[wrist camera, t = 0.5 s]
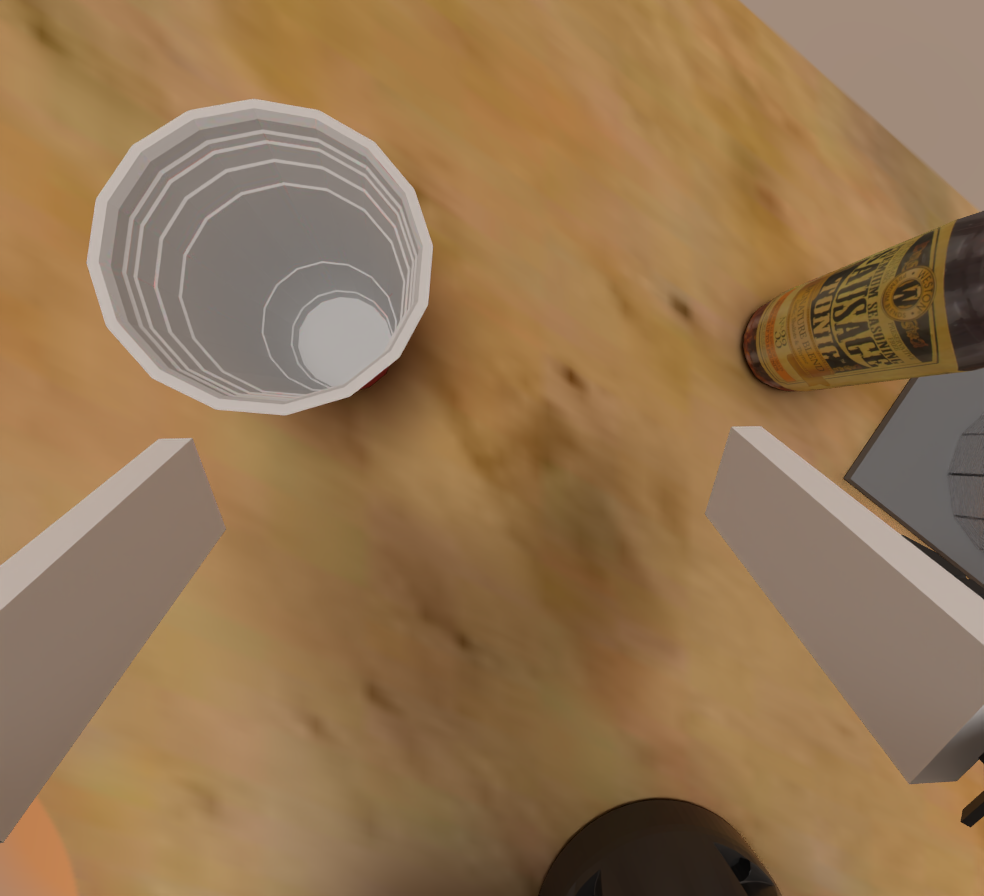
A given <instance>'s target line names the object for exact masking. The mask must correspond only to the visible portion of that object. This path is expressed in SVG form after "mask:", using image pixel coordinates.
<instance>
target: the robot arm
mask: <svg viewBox="0 0 984 896" xmlns="http://www.w3.org/2000/svg"><path fill="white" fill-rule="evenodd" d="M705 515H706V516H707V518H708V519H709V520H710V522H711V523H712V524H713V526H714V527H715V528H716V529H717V531H718V532H719V533H720V535H721V536H722V537H723V539H724V540H725V541H726V543H727V544H728V545H729V547H730V548H731V549H732V551H733V552H734V553H735V555H736V556H737V557H738V559H739V560H740V561H741V562H742V564H743V565H744V566H745V568H746V569H747V570H748V572H749V573H750V574H751V576H752V577H753V578H754V580H755V581H756V582H757V584H758V585H759V586H760V588H761V589H762V590H763V592H764V593H765V594H766V596H767V597H768V598H769V599H770V601H771V602H772V603H773V605H774V606H775V607H776V609H777V610H778V611H779V613H780V614H781V615H782V617H783V618H784V619H785V621H786V622H787V623H788V625H789V626H790V627H791V629H792V630H793V631H794V633H795V634H796V635H797V636H798V638H799V639H800V640H801V642H802V643H803V644H804V646H805V647H806V648H807V650H808V651H809V652H810V654H811V655H812V656H813V658H814V659H815V660H816V662H817V663H818V664H819V666H820V667H821V668H822V669H823V671H824V672H825V673H826V675H827V676H828V677H829V679H830V680H831V681H832V683H833V684H834V685H835V687H836V688H837V689H838V691H839V692H840V693H841V695H842V696H843V697H844V699H845V700H846V701H847V703H848V704H849V705H850V706H851V708H852V709H853V710H854V712H855V713H856V714H857V716H858V717H859V718H860V720H861V721H862V722H863V724H864V725H865V726H866V728H867V729H868V730H869V732H870V733H871V734H872V736H873V737H874V738H875V739H876V741H877V742H878V743H879V745H880V746H881V747H882V749H883V750H884V751H885V753H886V754H887V755H888V757H889V758H890V759H891V761H892V762H893V763H894V765H895V766H896V767H897V769H898V770H899V771H900V773H901V774H902V775H903V776H904V778H905V779H906V780H907V782H908V783H909V784H919V783H935V782H950V781H957V780H958V779H959V778H960V777H961V776H962V775H963V774H965V773H966V772H967V771H968V770H969V769H970V768H971V767H972V766H973V765H974V764H975V763H976V762H977V761H978V760H979V759H980V760H981V761H982V762H983V764H984V588H983V587H981V586H980V585H979V584H977V583H976V582H975V581H973V580H972V579H967V578H966V575H965V574H964V573H963V572H961V571H960V570H959V569H958V568H956V567H955V566H954V565H952V564H951V563H950V562H948V561H947V560H946V559H944V558H943V557H942V556H940V555H939V554H938V553H936V552H934V551H932V550H930V549H928V548H927V547H925V546H923V545H921V544H919V543H917V542H915V541H913V540H911V539H909V538H907V537H906V536H904V535H900V534H899V533H898V532H896V531H895V530H894V529H892V528H891V527H890V526H889V525H887V524H886V523H885V522H883V521H882V520H881V519H880V518H878V517H877V516H876V515H874V514H873V513H872V512H871V511H869V510H868V509H867V508H865V507H864V506H863V505H862V504H860V503H859V502H858V501H856V500H855V499H854V498H853V497H851V496H850V495H849V494H847V493H846V492H845V491H844V490H842V489H841V488H840V487H838V486H837V485H836V484H835V483H833V482H832V481H831V480H829V479H828V478H827V477H826V476H824V475H823V474H822V473H820V472H819V471H818V470H817V469H815V468H814V467H813V466H811V465H810V464H809V463H807V462H806V461H805V460H804V459H802V458H801V457H800V456H798V455H797V454H796V453H795V452H793V451H792V450H791V449H789V448H788V447H787V446H786V445H784V444H783V443H782V442H780V441H779V440H778V439H777V438H775V437H774V436H773V435H771V434H770V433H769V432H768V431H766V430H765V429H764V428H762V427H761V426H744V427H731V429H730V433H729V436H728V439H727V442H726V446H725V449H724V452H723V456H722V459H721V462H720V466H719V469H718V472H717V476H716V479H715V482H714V486H713V489H712V492H711V495H710V499H709V502H708V505H707V509H706V512H705ZM225 530H226V528H225V525H224V522H223V520H222V517H221V514H220V511H219V509H218V506H217V503H216V501H215V498H214V495H213V493H212V490H211V487H210V484H209V482H208V479H207V476H206V474H205V471H204V468H203V466H202V463H201V460H200V457H199V455H198V452H197V449H196V447H195V444H194V441H193V439H192V438H178V439H158V440H157V441H156V442H154V443H153V444H152V445H151V446H149V447H148V448H147V449H146V450H144V451H143V452H142V453H141V454H139V455H138V456H137V457H136V458H134V459H133V460H132V461H131V462H129V463H128V464H127V465H126V466H124V467H123V468H122V469H121V470H119V471H118V472H117V473H116V474H114V475H113V476H112V477H111V478H109V479H108V480H107V481H106V482H104V483H103V484H102V485H101V486H99V487H98V488H97V489H96V490H94V491H93V492H92V493H91V494H89V495H88V496H87V497H86V498H84V499H83V500H82V501H81V502H79V503H78V504H77V505H76V506H74V507H73V508H72V509H71V510H69V511H68V512H67V513H66V514H64V515H63V516H62V517H61V518H59V519H58V520H57V521H56V522H54V523H53V524H52V525H51V526H49V527H48V528H47V529H46V530H44V531H43V532H42V533H41V534H39V535H38V536H37V537H36V538H34V539H33V540H32V541H31V542H29V543H28V544H27V545H26V546H24V547H23V548H22V549H21V550H19V551H18V552H17V553H16V554H14V555H13V556H12V557H11V558H9V559H8V560H7V561H6V562H4V563H3V564H2V565H1V566H0V843H3V842H4V841H5V839H6V838H7V837H8V835H9V834H10V833H11V831H12V830H13V828H14V827H15V825H16V824H17V823H18V821H19V820H20V818H21V817H22V815H23V814H24V813H25V811H26V810H27V809H28V807H29V806H30V804H31V803H32V802H33V800H34V799H35V797H36V796H37V795H38V793H39V792H40V790H41V789H42V787H43V786H44V785H45V783H46V782H47V780H48V779H49V778H50V776H51V775H52V773H53V772H54V771H55V769H56V768H57V766H58V765H59V764H60V762H61V761H62V759H63V758H64V757H65V755H66V754H67V752H68V751H69V749H70V748H71V747H72V745H73V744H74V742H75V741H76V740H77V738H78V737H79V735H80V734H81V733H82V731H83V730H84V728H85V727H86V726H87V724H88V723H89V721H90V720H91V719H92V717H93V716H94V714H95V713H96V711H97V710H98V709H99V707H100V706H101V704H102V703H103V702H104V700H105V699H106V697H107V696H108V695H109V693H110V692H111V690H112V689H113V688H114V686H115V685H116V683H117V682H118V681H119V679H120V678H121V676H122V675H123V673H124V672H125V671H126V669H127V668H128V666H129V665H130V664H131V662H132V661H133V659H134V658H135V657H136V655H137V654H138V652H139V651H140V650H141V648H142V647H143V645H144V644H145V643H146V641H147V640H148V638H149V637H150V635H151V634H152V633H153V631H154V630H155V628H156V627H157V626H158V624H159V623H160V621H161V620H162V619H163V617H164V616H165V614H166V613H167V612H168V610H169V609H170V607H171V606H172V605H173V603H174V602H175V600H176V599H177V597H178V596H179V595H180V593H181V592H182V590H183V589H184V588H185V586H186V585H187V583H188V582H189V581H190V579H191V578H192V576H193V575H194V574H195V572H196V571H197V569H198V568H199V567H200V565H201V564H202V562H203V561H204V559H205V558H206V557H207V555H208V554H209V552H210V551H211V550H212V548H213V547H214V545H215V544H216V543H217V541H218V540H219V538H220V537H221V536H222V534H223V533H224V531H225ZM983 816H984V791H983V792H982V793H981V794H980V795H979V796H977V797H976V798H975V799H974V800H973V801H972V802H971V803H970V804H968V805H967V806H966V807H965V808H964V809H963V811H962V817H961V822H962V823H964V824H965V825H967V826H969V827H971V826H973V825H974V824H975V823H976V822H977V821H979V820H980V819H981V818H982V817H983ZM539 896H782V895H781V893H780V891H779V889H778V887H777V886H776V884H775V882H774V880H773V879H772V877H771V875H770V874H769V872H768V871H767V870H766V868H765V867H764V866H763V864H762V863H761V862H760V860H759V859H758V858H757V856H756V855H755V854H754V852H753V851H752V850H751V848H750V847H749V846H748V844H747V843H746V842H745V840H744V839H743V838H742V837H741V835H740V834H739V833H738V832H737V831H736V830H735V829H734V828H733V827H732V826H731V825H729V824H728V823H727V822H726V821H724V820H723V819H721V818H720V817H719V816H717V815H715V814H714V813H712V812H710V811H708V810H706V809H704V808H701V807H698V806H696V805H692V804H689V803H685V802H680V801H672V800H651V801H643V802H638V803H634V804H630V805H626V806H624V807H621V808H618V809H616V810H613V811H611V812H609V813H607V814H605V815H603V816H602V817H600V818H598V819H597V820H595V821H594V822H592V823H591V824H589V825H588V826H587V827H585V828H584V829H583V830H582V831H581V832H579V833H578V834H577V835H576V836H575V837H574V838H573V839H572V840H571V841H570V842H569V843H568V845H567V846H566V847H565V848H564V849H563V851H562V852H561V853H560V854H559V856H558V857H557V859H556V860H555V862H554V863H553V865H552V867H551V869H550V870H549V872H548V874H547V876H546V878H545V881H544V883H543V885H542V888H541V891H540V894H539Z"/></svg>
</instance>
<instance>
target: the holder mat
mask: <svg viewBox="0 0 984 896" xmlns="http://www.w3.org/2000/svg"><path fill="white" fill-rule="evenodd" d="M983 414H984V368H982V369H979V370H974V371H967V372H959V373H951V374H942V375H933V376H925V377H916V378H911V379H910V381H909V382H908V383H907V385H906V386H905V388H904V389H903V391H902V392H901V394H900V395H899V397H898V398H897V400H896V401H895V403H894V404H893V406H892V407H891V409H890V410H889V412H888V413H887V415H886V416H885V418H884V419H883V421H882V422H881V424H880V425H879V427H878V428H877V429H876V431H875V432H874V434H873V435H872V437H871V438H870V440H869V441H868V443H867V444H866V446H865V447H864V449H863V450H862V452H861V453H860V455H859V456H858V458H857V459H856V461H855V462H854V464H853V465H852V467H851V468H850V470H849V471H848V473H847V474H846V476H845V477H844V479H845V480H846V481H848V482H849V483H850V484H851V485H853V486H854V487H855V488H856V489H858V490H859V491H860V492H861V493H863V494H864V495H865V496H866V497H868V498H869V499H870V500H872V501H873V502H874V503H875V504H877V505H878V506H879V507H880V508H882V509H883V510H884V511H885V512H887V513H888V514H889V515H890V516H892V517H893V518H894V519H896V520H897V521H898V522H899V523H901V524H902V525H903V526H904V527H906V528H907V529H908V530H909V531H911V532H912V533H913V534H914V535H916V536H917V537H918V538H920V539H921V540H922V541H923V542H925V543H926V544H927V545H928V546H930V547H931V548H932V549H933V550H935V551H936V552H937V553H938V554H940V555H941V556H942V557H944V558H945V559H946V560H947V561H949V562H950V563H951V564H952V565H954V566H955V567H956V568H958V569H959V570H960V571H961V572H963V573H964V574H965V575H966V576H968V577H969V578H970V579H972V580H973V581H975V582H976V583H977V584H979V585H980V586H981V587H983V588H984V551H981V550H979V549H978V548H976V547H975V546H974V544H973V543H972V542H971V540H970V539H969V537H968V536H967V535H966V533H965V532H964V531H963V529H962V528H961V527H960V525H959V524H958V522H957V521H956V520H955V518H954V516H955V515H953V514H952V508H951V501H950V494H949V487H948V480H947V475H951V474H949V473H947V471H948V468H949V466H950V463H951V460H952V457H953V454H954V451H955V448H956V445H957V442H958V440H959V437H960V436H963V435H962V434H961V433H962V432H964V431H965V430H966V429H967V428H968V427H969V426H970V425H971V424H973V423H974V422H975V421H976V420H977V419H978V418H979V417H980V416H982V415H983Z"/></svg>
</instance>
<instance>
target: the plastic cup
mask: <svg viewBox="0 0 984 896" xmlns="http://www.w3.org/2000/svg"><path fill="white" fill-rule="evenodd" d="M432 253H433V244H432V241H431V238H430V235H429V232H428V229H427V226H426V223H425V220H424V217H423V214H422V211H421V208H420V205H419V202H418V199H417V196H416V193H415V190H414V188H413V187H412V186H411V185H410V184H409V183H408V181H407V180H406V179H405V178H404V177H403V175H402V174H401V173H400V172H399V171H398V169H397V168H396V167H395V166H394V165H393V163H392V162H391V161H390V160H389V159H388V157H387V156H386V155H385V154H384V153H383V152H382V150H381V149H380V148H379V147H378V146H377V144H376V143H375V142H374V141H372V140H370V139H368V138H367V137H365V136H363V135H361V134H360V133H358V132H356V131H354V130H353V129H351V128H349V127H347V126H345V125H344V124H342V123H340V122H338V121H337V120H335V119H333V118H331V117H330V116H328V115H326V114H324V113H323V112H321V111H319V110H315V109H309V108H303V107H298V106H292V105H286V104H280V103H275V102H269V101H263V100H258V99H249V100H244V101H238V102H233V103H227V104H222V105H216V106H211V107H205V108H200V109H194V110H189V111H187V112H185V113H183V114H182V115H180V116H179V117H177V118H175V119H174V120H172V121H171V122H169V123H167V124H166V125H164V126H163V127H161V128H159V129H158V130H156V131H155V132H153V133H151V134H150V135H148V136H147V137H145V138H143V139H142V140H140V141H138V142H137V143H135V144H134V145H132V147H131V148H130V150H129V151H128V152H127V154H126V155H125V157H124V158H123V160H122V161H121V163H120V164H119V166H118V167H117V169H116V170H115V172H114V173H113V175H112V176H111V178H110V179H109V180H108V182H107V183H106V185H105V186H104V188H103V189H102V191H101V192H100V194H99V195H98V197H97V198H96V203H95V209H94V216H93V223H92V230H91V236H90V243H89V250H88V256H87V266H88V269H89V272H90V276H91V279H92V282H93V285H94V288H95V292H96V295H97V298H98V301H99V304H100V308H101V311H102V314H103V317H104V321H105V324H106V327H107V328H108V329H109V330H110V331H111V332H112V333H113V335H114V336H115V337H116V338H117V339H118V340H119V341H120V342H121V344H122V345H123V346H124V347H125V348H126V349H127V350H128V351H129V353H130V354H131V355H132V356H133V357H134V358H135V359H136V360H137V362H138V363H139V364H140V365H141V366H142V367H143V368H144V370H145V371H146V372H147V373H148V374H149V375H150V376H151V377H152V378H153V379H155V380H157V381H159V382H161V383H163V384H165V385H167V386H169V387H171V388H173V389H175V390H177V391H179V392H181V393H183V394H185V395H187V396H189V397H191V398H193V399H196V400H198V401H200V402H202V403H204V404H206V405H208V406H210V407H212V408H214V409H216V410H228V411H240V412H251V413H263V414H275V415H289V414H292V413H296V412H299V411H302V410H306V409H309V408H313V407H316V406H319V405H323V404H326V403H330V402H333V401H337V400H340V399H343V398H347V397H350V396H351V395H353V394H354V393H355V392H356V391H358V390H361V389H365V388H368V387H370V386H371V385H373V384H374V383H375V382H376V381H378V380H379V379H380V378H381V377H382V376H384V375H385V374H386V372H387V370H388V368H389V366H390V365H391V364H392V363H393V362H394V361H396V360H397V359H398V358H399V357H400V356H401V354H402V352H403V350H404V348H405V346H406V345H407V343H408V341H409V339H410V337H411V335H412V333H413V332H414V330H415V328H416V326H417V324H418V322H419V321H420V319H421V317H422V315H423V313H424V311H425V310H426V308H427V306H428V300H429V288H430V277H431V265H432Z"/></svg>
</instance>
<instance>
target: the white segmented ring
mask: <svg viewBox="0 0 984 896" xmlns="http://www.w3.org/2000/svg"><path fill="white" fill-rule="evenodd" d="M961 434H962V435H963V436H960V437H959V440H958V442H957V445H956V448H955V451H954V454H953V457H952V460H951V463H950V466H949V468H948V471H947V473H949V474H951V475H947V480H948V487H949V494H950V501H951V508H952V514H953V515H955V516H954V518H955V520H956V521H957V522H958V524H959V525H960V527H961V528H962V529H963V531H964V532H965V533H966V535H967V536H968V537H969V539H970V540H971V542H972V543H973V544H974V546H975V547H976V548H978V549H979V550H981V551H984V414H983V415H982V416H980V417H979V418H978V419H977V420H976V421H975V422H974V423H973V424H971V425H970V426H969V427H968V428H967V429H966V430H965V431H964V432H962V433H961Z"/></svg>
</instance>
